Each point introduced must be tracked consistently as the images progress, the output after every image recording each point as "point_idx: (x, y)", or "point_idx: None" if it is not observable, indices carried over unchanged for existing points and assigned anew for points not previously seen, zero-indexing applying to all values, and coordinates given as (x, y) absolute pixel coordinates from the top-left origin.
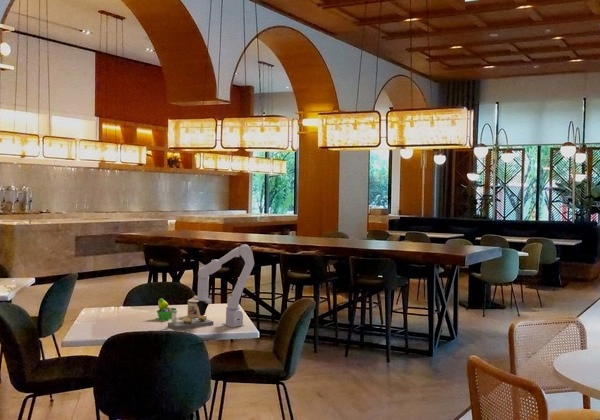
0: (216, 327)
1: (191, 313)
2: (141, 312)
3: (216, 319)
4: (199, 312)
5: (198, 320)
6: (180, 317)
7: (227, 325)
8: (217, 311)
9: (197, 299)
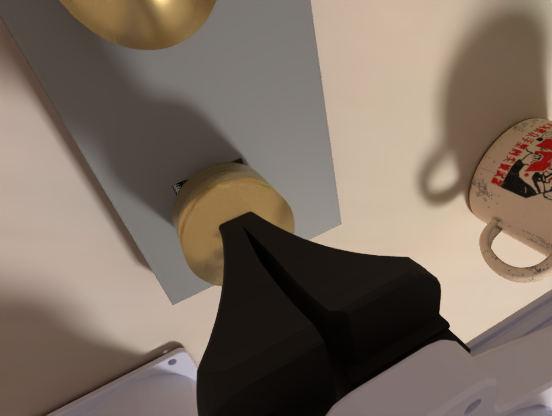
0: (40, 307)
1: (525, 148)
2: None
3: None
4: (499, 211)
5: (262, 163)
6: (542, 49)
7: (99, 389)
8: (516, 295)
9: None
